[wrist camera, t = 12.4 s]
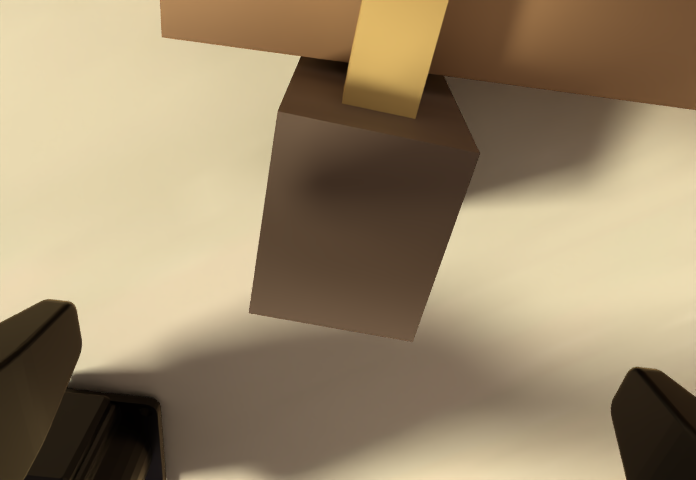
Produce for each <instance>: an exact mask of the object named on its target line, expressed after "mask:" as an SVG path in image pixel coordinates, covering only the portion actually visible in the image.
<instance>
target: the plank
mask: <svg viewBox="0 0 696 480" xmlns="http://www.w3.org/2000/svg"><path fill="white" fill-rule="evenodd" d="M361 1H362V0H160V9H161V30H162V37H164V38H171V39H179V40H186V41H193V42H201V43H208V44H216V45H223V46H230V47H238V48H245V49H252V50H260V51H267V52H274V53H282V54H289V55H296V56H304V57H311V58H318V59H326V60H333V61H340V62H348V63H349V60H350V55H351V50H352V45H353V40H354V35H355V30H356V26H357V21H358V16H359V11H360V6H361ZM428 74H436V75H443V76H450V77H458V78H465V79H472V80H480V81H487V82H494V83H502V84H509V85H516V86H524V87H531V88H538V89H546V90H553V91H560V92H568V93H575V94H582V95H590V96H597V97H604V98H612V99H619V100H626V101H634V102H641V103H648V104H656V105H663V106H670V107H678V108H685V109H692V110H696V0H449V1H448V4H447V8H446V11H445V15H444V19H443V22H442V26H441V29H440V33H439V36H438V40H437V43H436V47H435V51H434V54H433V58H432V61H431V65H430V68H429V72H428Z"/></svg>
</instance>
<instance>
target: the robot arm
mask: <svg viewBox="0 0 696 480" xmlns="http://www.w3.org/2000/svg"><path fill="white" fill-rule="evenodd" d="M81 348H82V338H81V332H80V326H79V321H78V315H77V310H76V307H75V305H74V304H73V303H72V302H69V301H62V300H53V299H46V300H43V301H41V302H39V303H37V304H35V305H33V306H31V307H29V308H27V309H25V310H23V311H22V312H20V313H18V314H16V315H14V316H12V317H10V318H8V319H6V320H4V321H2V322H1V323H0V480H166V472H165V458H164V445H163V432H162V419H161V406H160V403H159V402H158V401H157V400H155V399H153V398H150V397H142V396H133V395H124V394H114V393H105V392H95V391H86V390H77V389H67V385H68V383H69V381H70V378H71V376H72V373H73V371H74V368H75V366H76V364H77V361H78V359H79V356H80V353H81ZM611 416H612V421H613V425H614V429H615V433H616V438H617V442H618V446H619V450H620V455H621V459H622V463H623V467H624V472H625V476H626V480H696V397H695V396H694V395H692V394H691V393H690V392H688V391H687V390H686V389H684V388H683V387H682V386H680V385H679V384H678V383H677V382H675V381H674V380H673V379H671V378H670V377H669V376H667V375H666V374H665V373H663V372H662V371H660V370H657V369H652V368H643V367H633V368H632V369H630V370H629V371H628V373H627V374H626V376H625V378H624V380H623V382H622V384H621V385H620V387H619V389H618V391H617V393H616V394H615V396H614V398H613V400H612V404H611Z"/></svg>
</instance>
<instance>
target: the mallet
mask: <svg viewBox="0 0 696 480" xmlns="http://www.w3.org/2000/svg"><path fill="white" fill-rule="evenodd" d="M448 1H449V0H362V1H361V6H360V11H359V16H358V21H357V26H356V30H355V35H354V40H353V45H352V50H351V55H350V60H349V63H348V62H340V61H333V60H326V59H318V58H311V57H304V56H301V57H300V60H299V62H298V65H297V67H296V69H295V72H294V74H293V76H292V79H291V81H290V83H289V86H288V88H287V91H286V93H285V95H284V98H283V100H282V102H281V105H280V107H279V109H278V113H277V120H276V127H275V134H274V141H273V148H272V155H271V162H270V169H269V176H268V183H267V190H266V197H265V204H264V210H263V217H262V224H261V231H260V238H259V245H258V252H257V259H256V266H255V273H254V280H253V287H252V294H251V301H250V308H249V313H251V314H257V315H262V316H268V317H274V318H280V319H285V320H291V321H297V322H302V323H308V324H314V325H319V326H325V327H331V328H336V329H342V330H348V331H354V332H359V333H365V334H371V335H376V336H382V337H388V338H393V339H399V340H405V341H410V342H413V339H414V337H415V334H416V331H417V328H418V325H419V323H420V320H421V317H422V314H423V311H424V309H425V306H426V303H427V300H428V297H429V295H430V292H431V289H432V286H433V283H434V281H435V278H436V275H437V272H438V269H439V267H440V264H441V261H442V258H443V256H444V253H445V250H446V247H447V244H448V242H449V239H450V236H451V233H452V230H453V228H454V225H455V222H456V219H457V216H458V214H459V211H460V208H461V205H462V202H463V200H464V197H465V194H466V191H467V188H468V186H469V183H470V180H471V177H472V174H473V172H474V169H475V166H476V163H477V160H478V158H479V155H480V152H479V150H478V148H477V146H476V144H475V142H474V140H473V138H472V135H471V133H470V131H469V129H468V127H467V125H466V123H465V121H464V118H463V116H462V114H461V112H460V110H459V108H458V106H457V104H456V101H455V99H454V97H453V95H452V93H451V91H450V89H449V87H448V85H447V82H446V80H445V78H444V76H443V75H436V74H428V72H429V68H430V65H431V61H432V58H433V54H434V51H435V47H436V43H437V40H438V36H439V33H440V29H441V26H442V22H443V19H444V15H445V11H446V8H447V4H448Z"/></svg>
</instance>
